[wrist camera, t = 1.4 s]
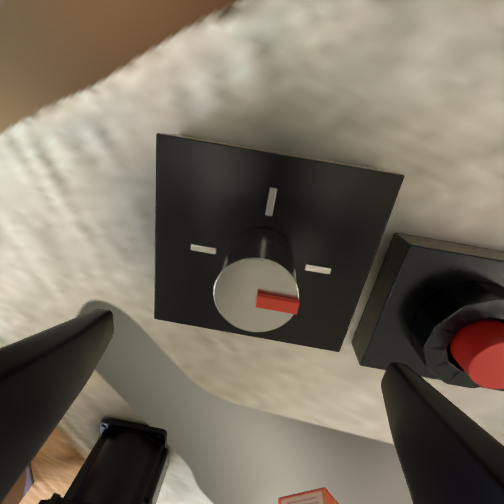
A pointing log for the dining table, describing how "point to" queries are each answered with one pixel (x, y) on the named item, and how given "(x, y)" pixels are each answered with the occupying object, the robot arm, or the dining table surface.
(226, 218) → the panel
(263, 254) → the knob
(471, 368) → the disc
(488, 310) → the block
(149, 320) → the dining table surface
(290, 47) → the dining table surface
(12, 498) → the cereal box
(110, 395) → the dining table surface
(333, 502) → the cracker box
